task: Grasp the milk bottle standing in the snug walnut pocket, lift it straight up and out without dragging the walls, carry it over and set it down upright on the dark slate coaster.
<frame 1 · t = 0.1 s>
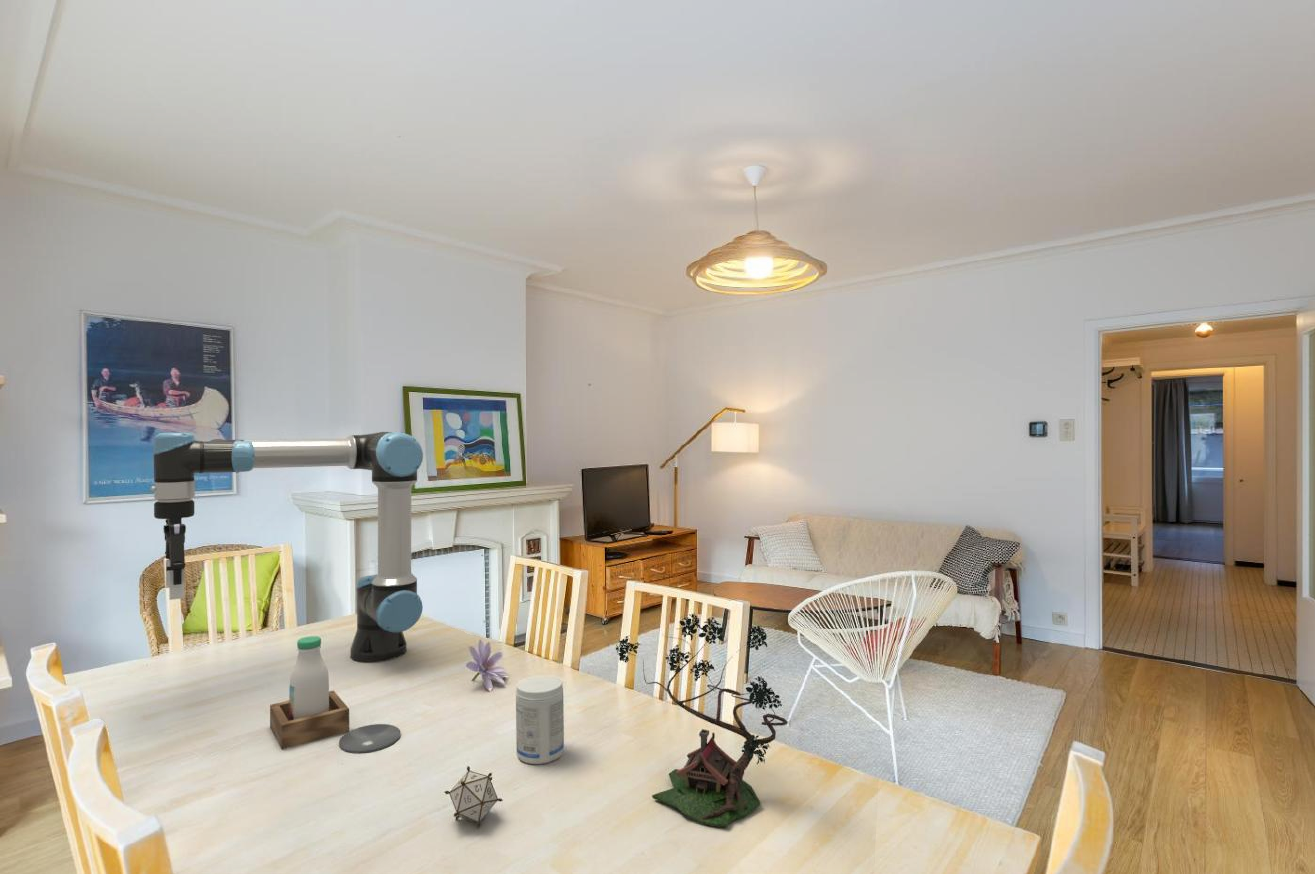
hand: (175, 592, 154), 28 cm above the table, fingers open, 13 cm apart
game die: (473, 820, 115), on the table
supplement tub: (539, 755, 137), on the table
slate coaster: (370, 739, 143), on the table
milk bottle: (309, 730, 148), resting in walnut pocket
water lily: (488, 685, 174), on the table
walnut pocket: (309, 729, 148), on the table
bonsai tree: (694, 785, 126), on the table
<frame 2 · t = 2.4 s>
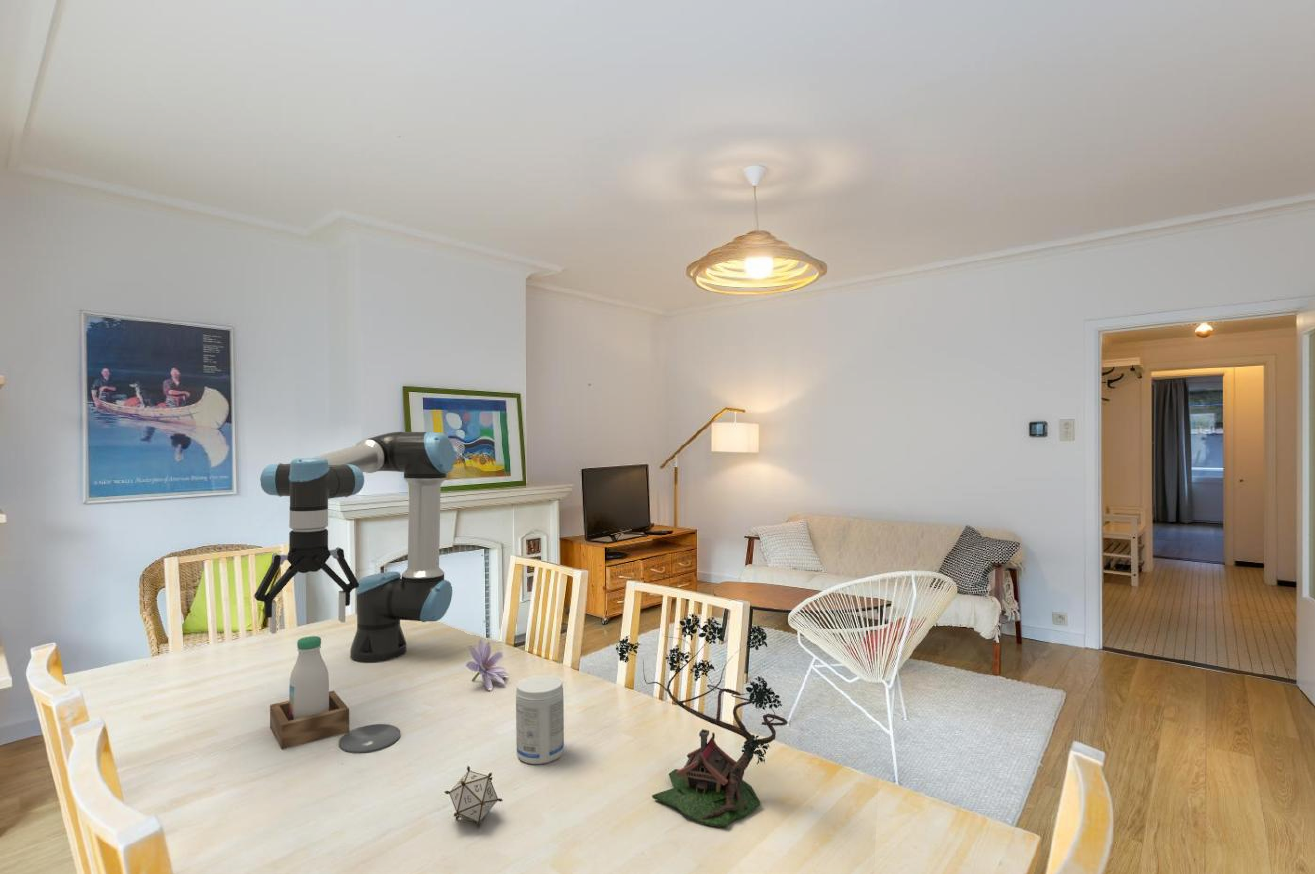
hand: (308, 626, 147), 23 cm above the table, fingers open, 13 cm apart
nothing on the table moved.
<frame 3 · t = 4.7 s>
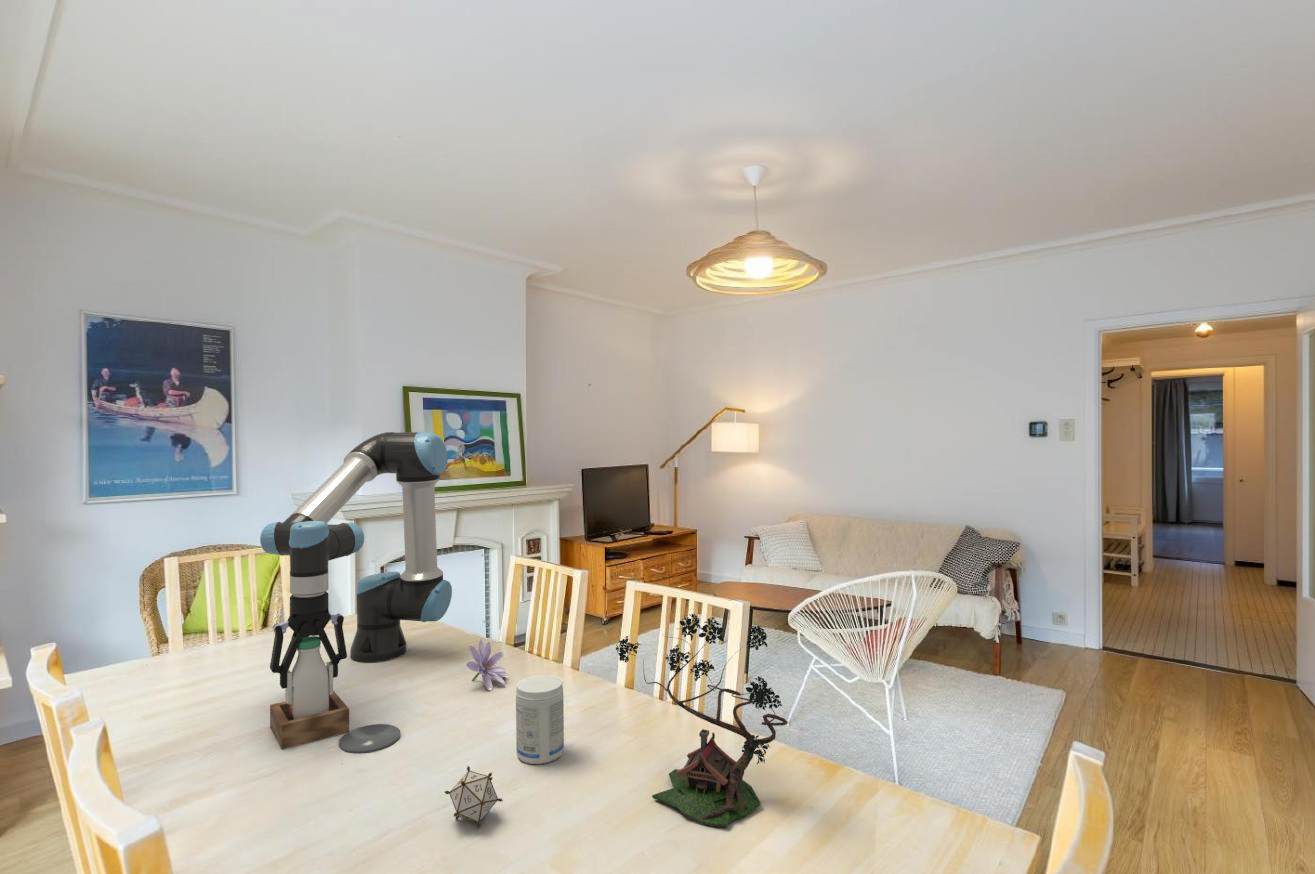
hand: (309, 696, 147), 7 cm above the table, fingers closed on milk bottle, 7 cm apart
milk bottle: (309, 730, 148), resting in walnut pocket, touching gripper
everything else where it was.
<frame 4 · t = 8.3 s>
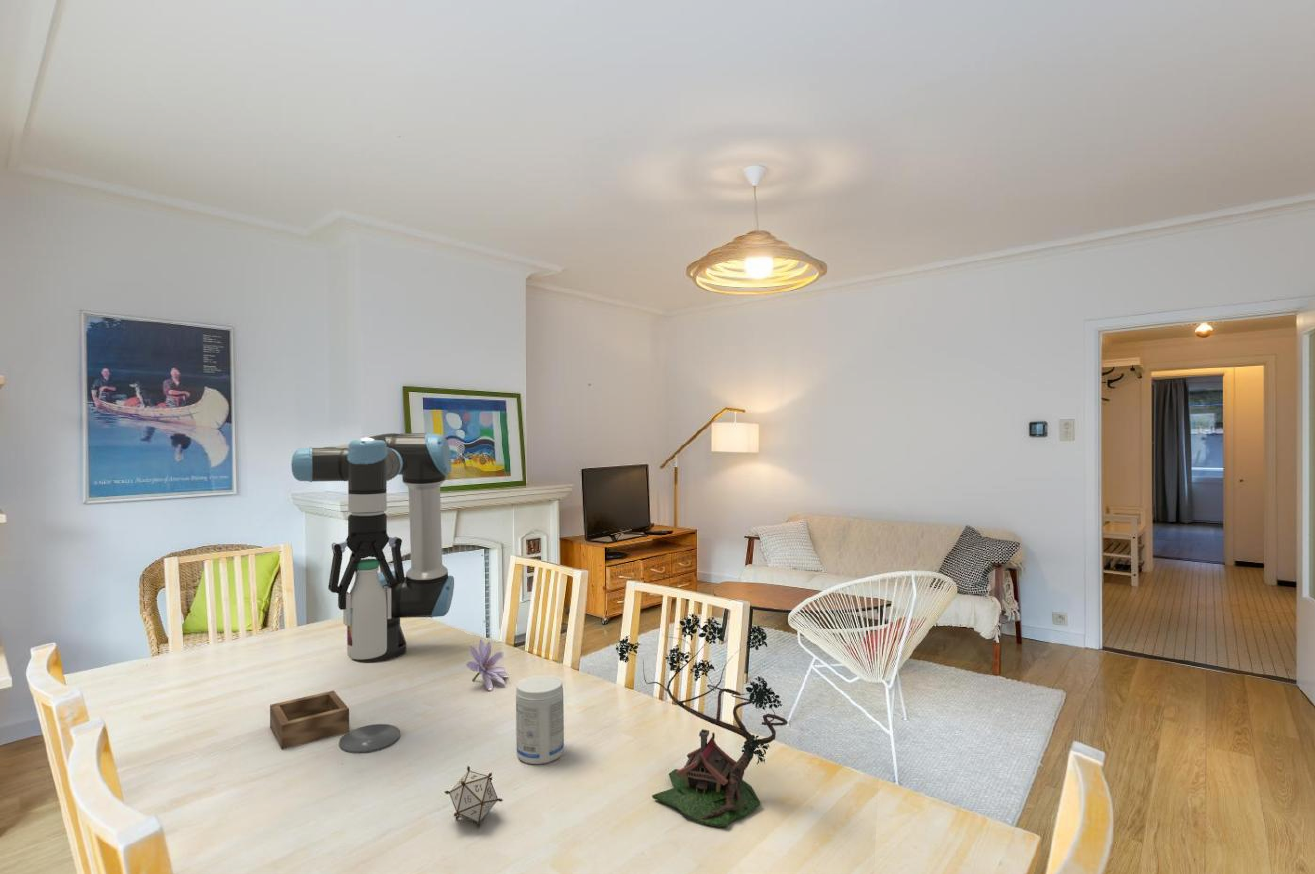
hand: (367, 620, 143), 25 cm above the table, fingers closed on milk bottle, 7 cm apart
milk bottle: (367, 655, 143), point 18 cm above the table, touching gripper
everything else where it was.
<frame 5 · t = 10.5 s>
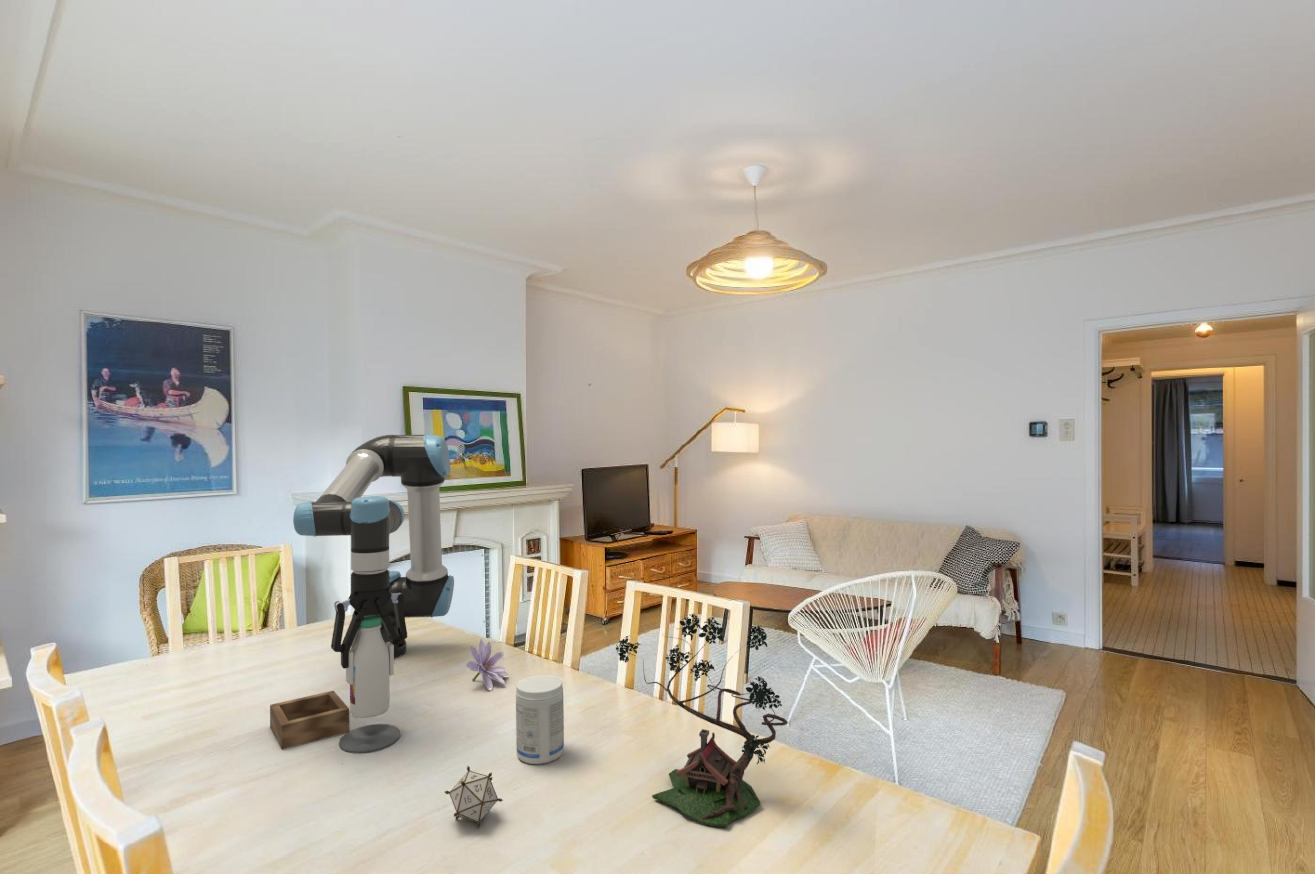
hand: (370, 677, 143), 13 cm above the table, fingers closed on milk bottle, 7 cm apart
milk bottle: (369, 712, 143), point 6 cm above the table, touching gripper
everything else where it was.
when the fingers open (9 cm above the table, at t = 12.2 s): milk bottle drops 1 cm, resting on slate coaster.
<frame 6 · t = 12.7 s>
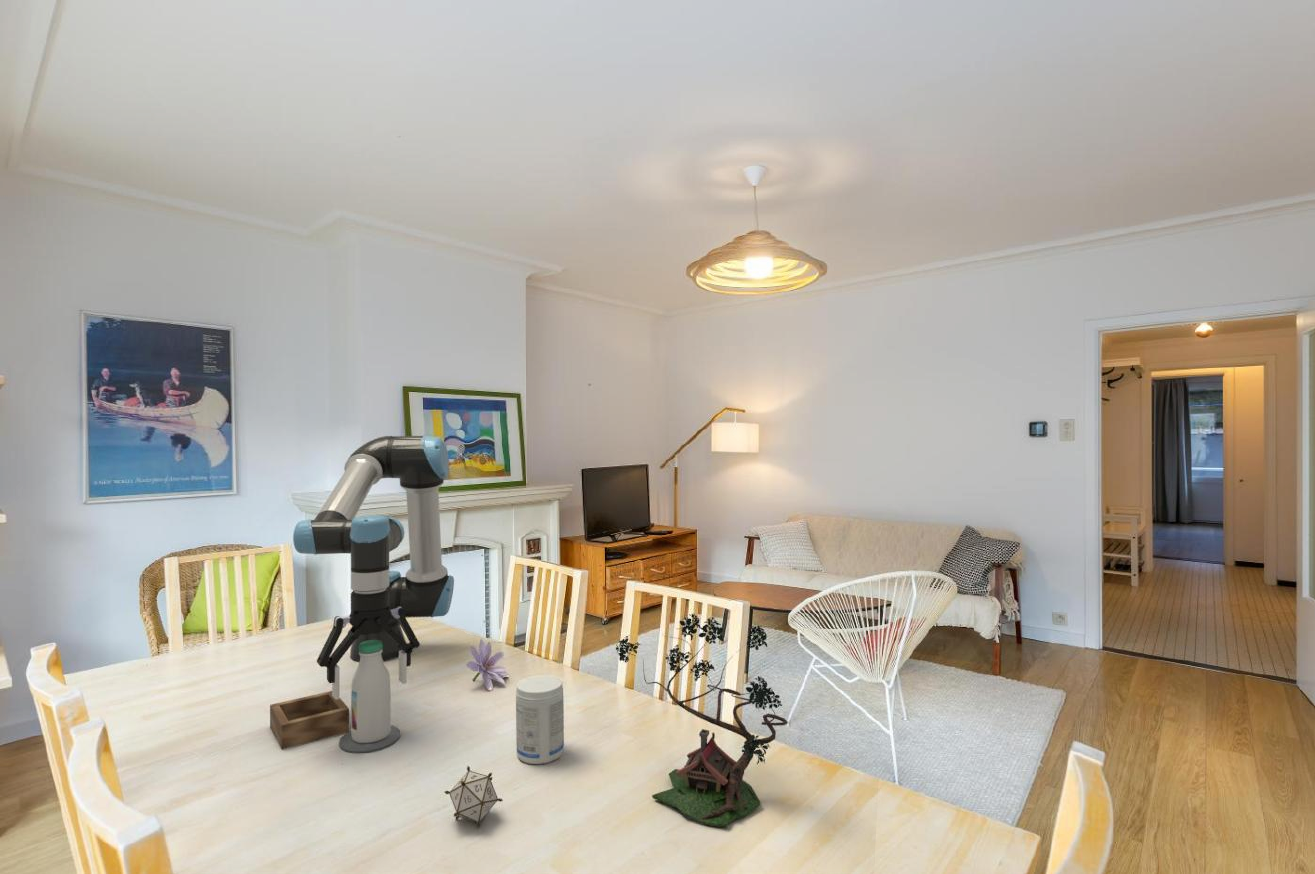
hand: (370, 689, 143), 11 cm above the table, fingers open, 13 cm apart
milk bottle: (371, 736, 143), resting on slate coaster
everything else where it was.
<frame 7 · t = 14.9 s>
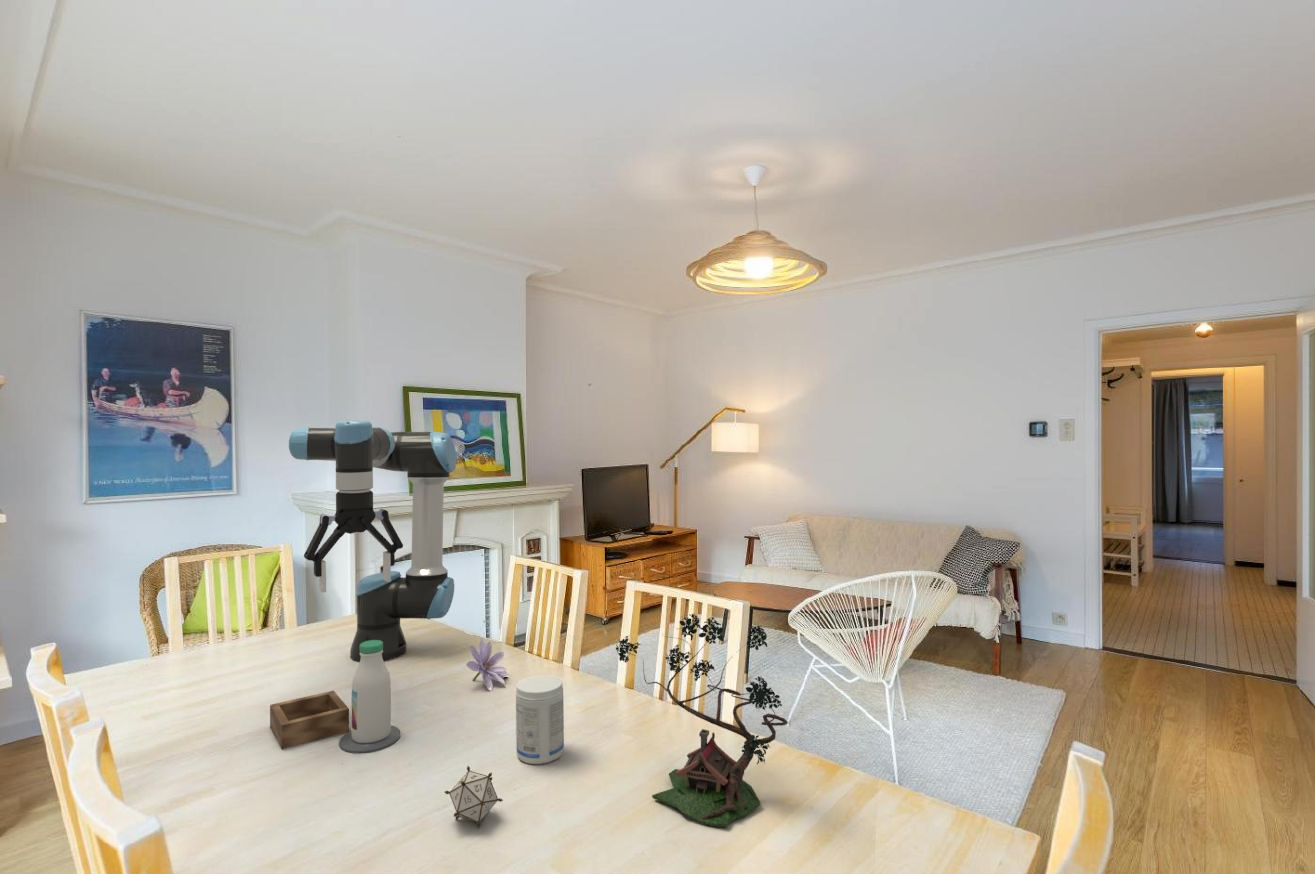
hand: (355, 585, 150), 31 cm above the table, fingers open, 13 cm apart
nothing on the table moved.
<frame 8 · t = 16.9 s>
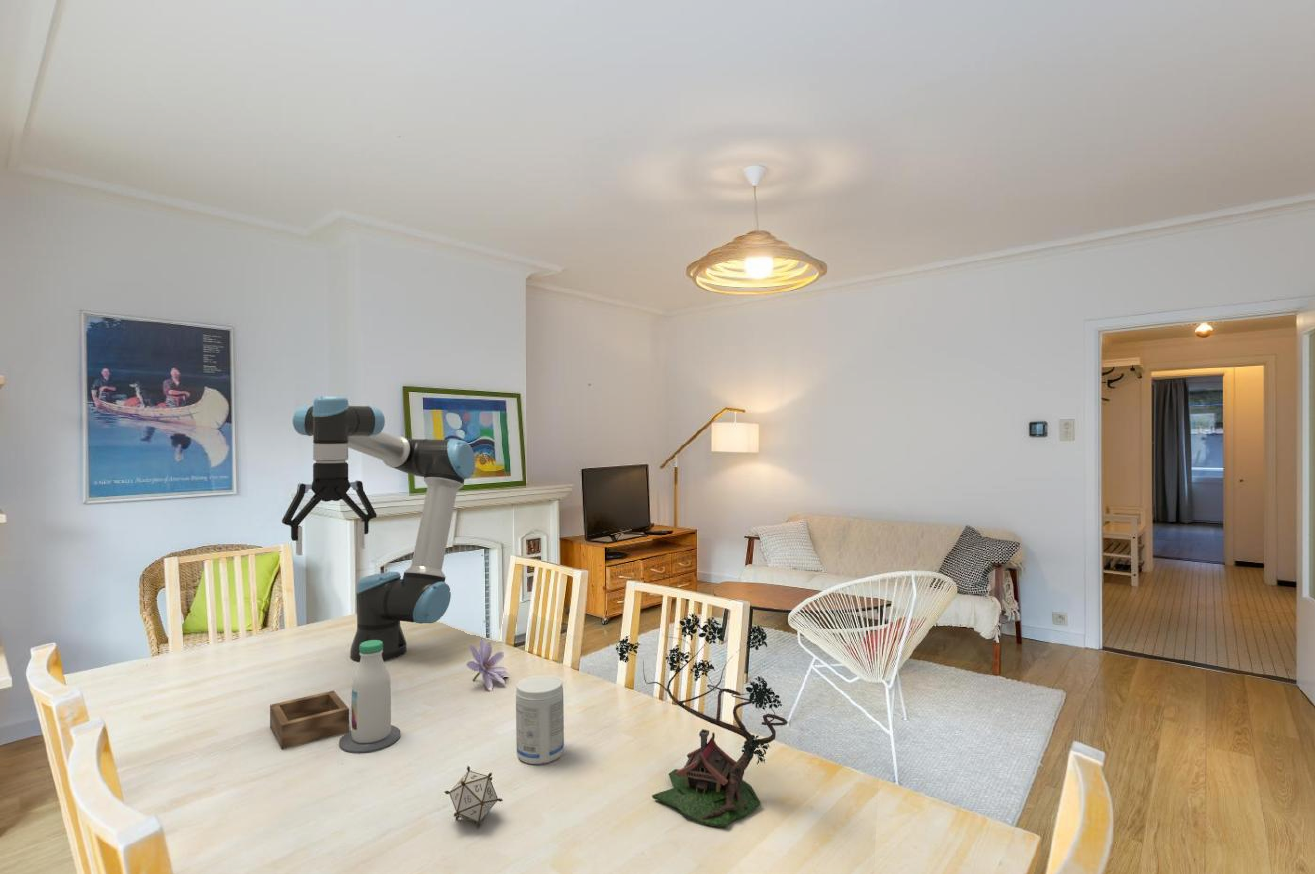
hand: (330, 551, 160), 37 cm above the table, fingers open, 13 cm apart
nothing on the table moved.
at the end: milk bottle 0.3 cm from the slate coaster (horizontally); milk bottle tilted 0°; milk bottle resting on slate coaster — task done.
